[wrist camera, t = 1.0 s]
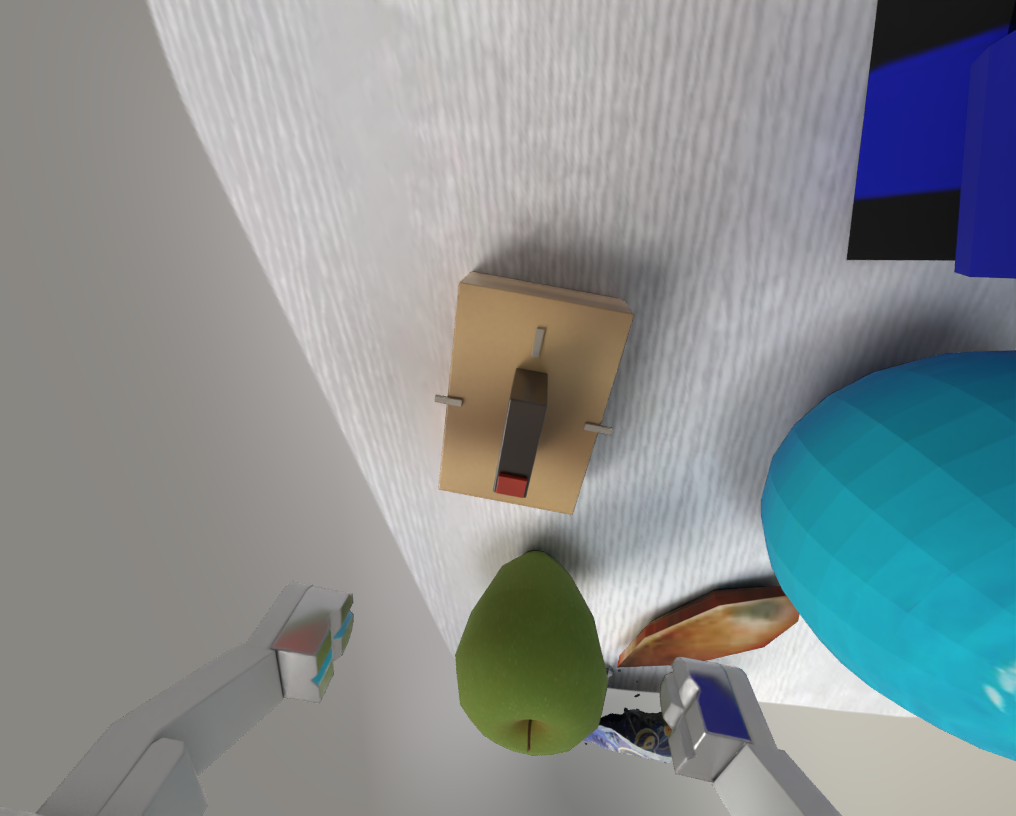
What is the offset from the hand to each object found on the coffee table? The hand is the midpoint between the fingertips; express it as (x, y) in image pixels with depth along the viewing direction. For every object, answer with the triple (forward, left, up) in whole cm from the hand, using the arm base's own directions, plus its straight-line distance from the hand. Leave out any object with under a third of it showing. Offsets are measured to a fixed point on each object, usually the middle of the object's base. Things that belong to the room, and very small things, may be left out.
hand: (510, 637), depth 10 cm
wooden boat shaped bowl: (+16, +16, -12) cm, 26 cm away
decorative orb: (-1, +18, -15) cm, 24 cm away
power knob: (0, 0, -12) cm, 12 cm away
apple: (+14, +3, -15) cm, 21 cm away
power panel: (0, 0, -15) cm, 15 cm away
